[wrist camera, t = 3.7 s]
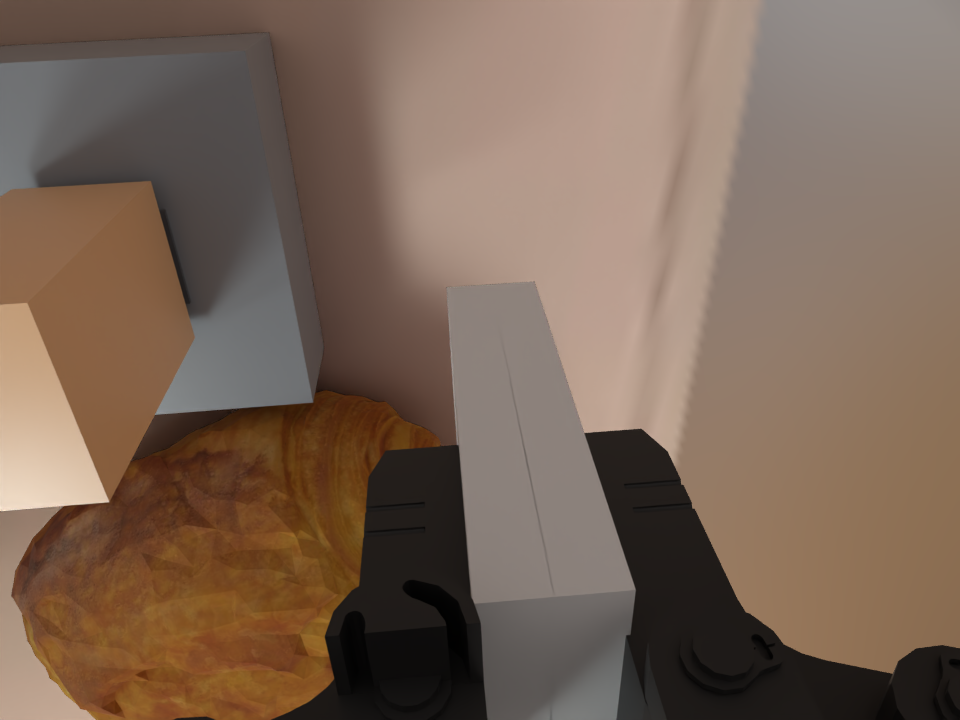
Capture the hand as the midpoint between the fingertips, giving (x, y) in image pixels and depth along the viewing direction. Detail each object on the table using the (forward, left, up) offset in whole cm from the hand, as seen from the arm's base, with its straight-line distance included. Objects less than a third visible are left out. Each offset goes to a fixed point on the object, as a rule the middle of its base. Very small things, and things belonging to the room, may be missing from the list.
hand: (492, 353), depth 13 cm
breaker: (-9, 0, -5) cm, 10 cm away
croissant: (-7, -13, -9) cm, 17 cm away
